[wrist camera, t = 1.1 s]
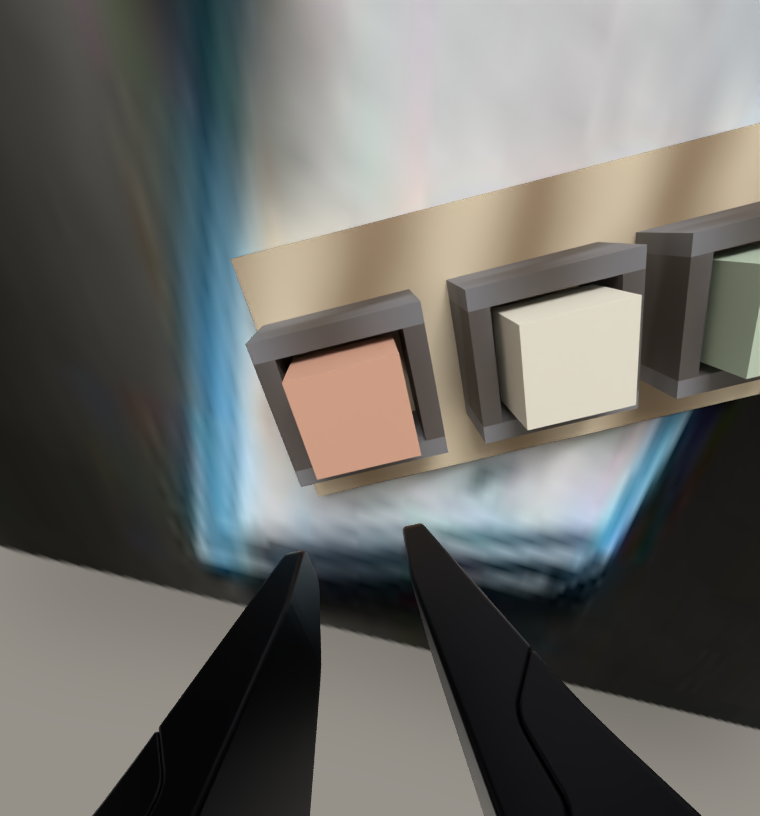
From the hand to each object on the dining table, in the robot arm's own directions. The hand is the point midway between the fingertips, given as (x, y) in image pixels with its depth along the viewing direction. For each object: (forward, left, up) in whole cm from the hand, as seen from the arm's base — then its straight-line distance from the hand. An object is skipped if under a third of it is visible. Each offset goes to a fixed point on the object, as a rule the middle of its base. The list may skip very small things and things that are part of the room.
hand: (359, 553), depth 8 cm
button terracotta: (0, 0, -9) cm, 9 cm away
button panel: (-8, 0, -12) cm, 14 cm away
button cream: (-8, 0, -9) cm, 12 cm away
